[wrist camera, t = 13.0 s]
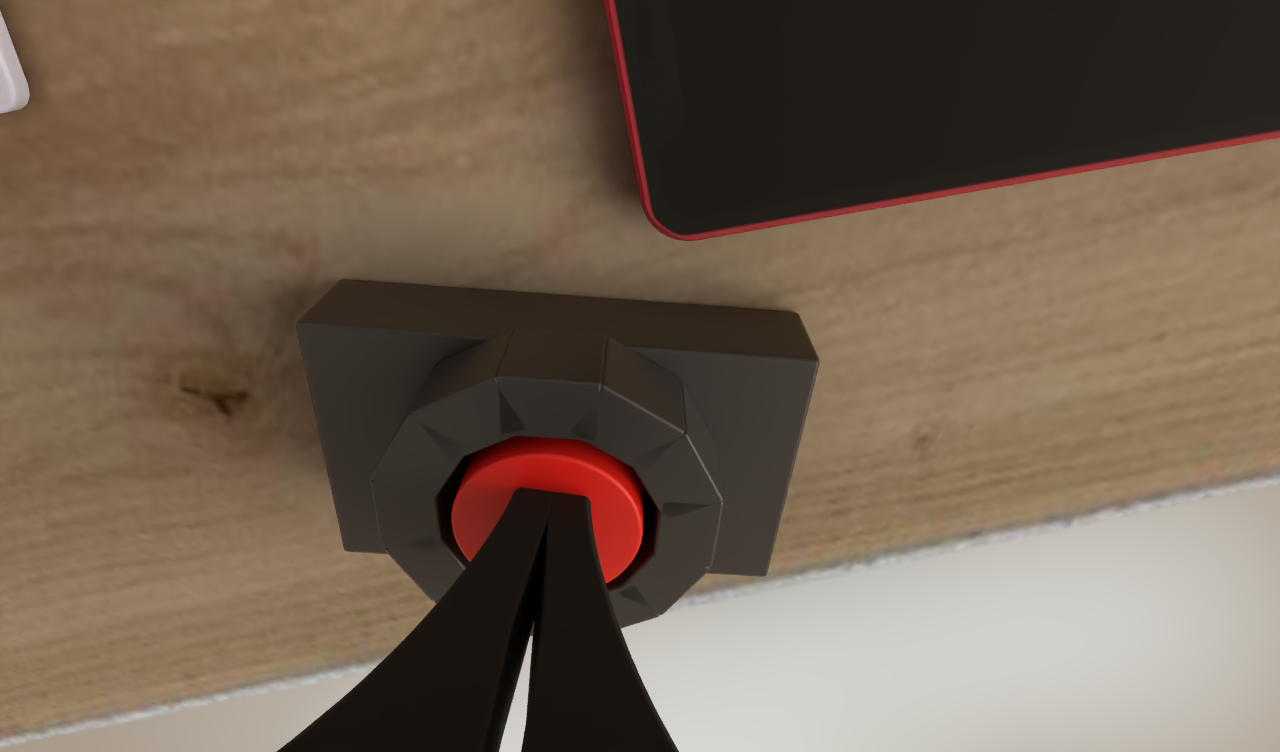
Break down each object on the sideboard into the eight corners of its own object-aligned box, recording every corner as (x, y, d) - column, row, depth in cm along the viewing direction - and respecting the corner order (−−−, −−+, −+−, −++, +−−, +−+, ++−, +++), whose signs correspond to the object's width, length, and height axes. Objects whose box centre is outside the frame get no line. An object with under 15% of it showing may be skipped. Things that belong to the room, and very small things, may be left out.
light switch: (377, 497, 17) (311, 624, 14) (338, 266, 14) (238, 358, 11) (753, 521, 18) (778, 651, 14) (801, 300, 14) (849, 400, 11)
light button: (476, 529, 15) (456, 591, 13) (466, 394, 13) (442, 448, 11) (636, 539, 15) (636, 602, 13) (650, 406, 13) (650, 462, 11)
